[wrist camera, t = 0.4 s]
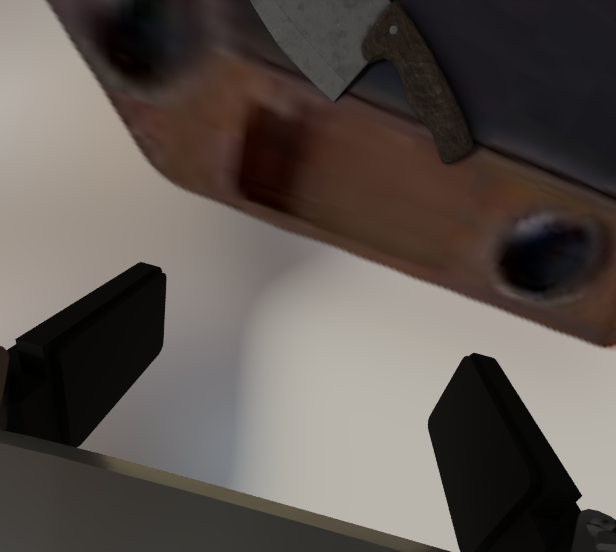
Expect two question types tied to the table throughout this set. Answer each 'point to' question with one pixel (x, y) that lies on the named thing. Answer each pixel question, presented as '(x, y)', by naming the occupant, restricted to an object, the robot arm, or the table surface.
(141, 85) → the table surface
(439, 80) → the cleaver
